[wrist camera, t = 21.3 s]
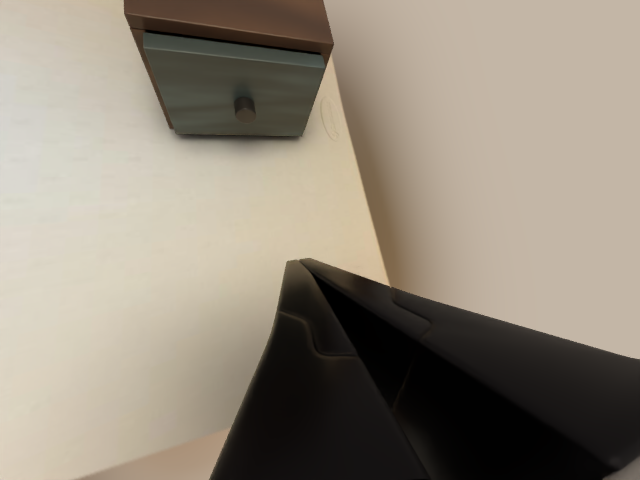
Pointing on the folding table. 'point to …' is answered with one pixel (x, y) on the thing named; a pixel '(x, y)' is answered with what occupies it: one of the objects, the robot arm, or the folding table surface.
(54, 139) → the folding table surface
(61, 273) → the folding table surface
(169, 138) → the folding table surface
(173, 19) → the cabinet
